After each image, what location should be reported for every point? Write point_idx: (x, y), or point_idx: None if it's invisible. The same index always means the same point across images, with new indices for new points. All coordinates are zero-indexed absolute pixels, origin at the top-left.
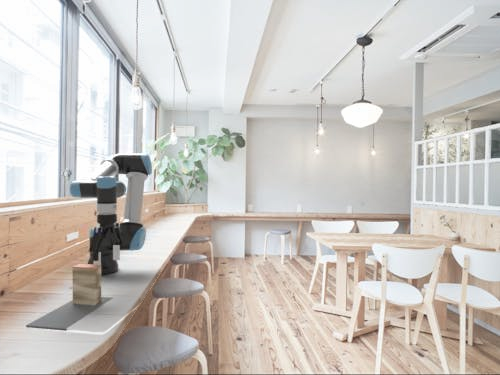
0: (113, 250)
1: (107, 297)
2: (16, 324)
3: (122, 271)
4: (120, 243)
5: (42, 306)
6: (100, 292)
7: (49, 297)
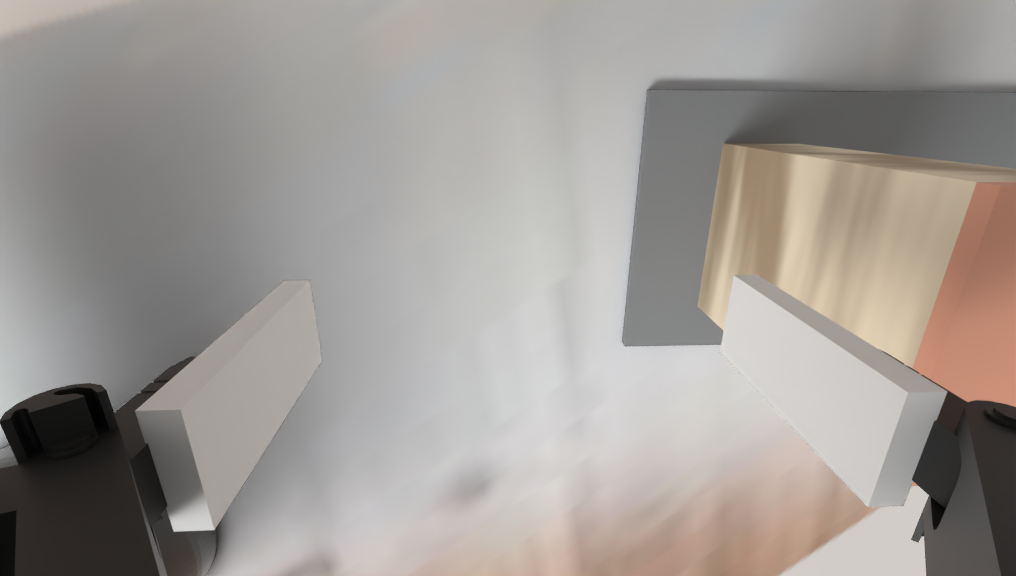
0: (264, 441)
1: (649, 141)
2: None
3: (30, 390)
4: (72, 431)
5: (768, 442)
6: (772, 148)
7: (641, 495)
